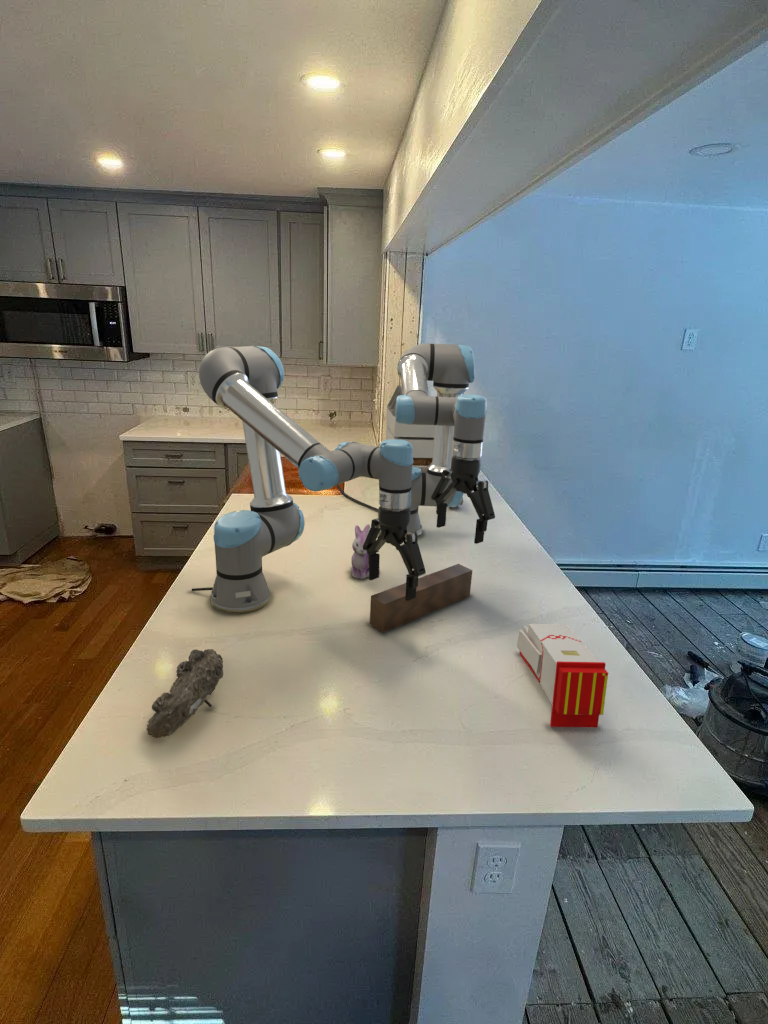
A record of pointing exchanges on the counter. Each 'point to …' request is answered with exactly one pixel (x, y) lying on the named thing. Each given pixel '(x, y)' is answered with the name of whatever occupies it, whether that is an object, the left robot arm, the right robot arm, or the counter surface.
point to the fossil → (186, 692)
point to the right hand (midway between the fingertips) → (459, 534)
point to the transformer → (410, 434)
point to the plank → (420, 597)
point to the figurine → (360, 554)
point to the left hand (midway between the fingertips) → (391, 588)
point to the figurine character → (459, 504)
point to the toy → (565, 673)
